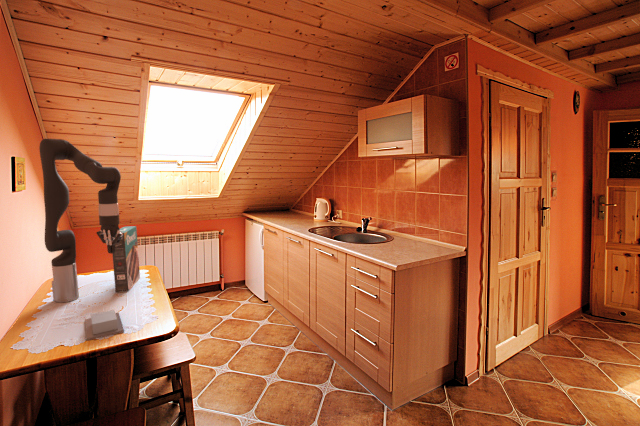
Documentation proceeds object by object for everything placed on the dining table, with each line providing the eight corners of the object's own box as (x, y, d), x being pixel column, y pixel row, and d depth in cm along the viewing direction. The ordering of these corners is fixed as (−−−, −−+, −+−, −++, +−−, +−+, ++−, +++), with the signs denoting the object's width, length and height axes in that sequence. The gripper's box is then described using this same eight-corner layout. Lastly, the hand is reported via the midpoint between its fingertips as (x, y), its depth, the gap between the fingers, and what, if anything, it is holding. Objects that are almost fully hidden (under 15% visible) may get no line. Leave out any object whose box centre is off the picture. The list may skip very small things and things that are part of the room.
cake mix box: (128, 291, 180) (124, 233, 176) (115, 292, 179) (110, 233, 175) (140, 278, 201) (136, 226, 197) (128, 278, 200) (124, 226, 196)
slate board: (85, 321, 145) (85, 319, 145) (118, 314, 152) (118, 312, 151) (86, 340, 128) (86, 338, 128) (123, 332, 135) (123, 330, 135)
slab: (91, 324, 140) (93, 334, 131) (90, 314, 140) (92, 324, 131) (114, 319, 145) (117, 329, 136) (114, 309, 144) (117, 319, 135)
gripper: (88, 214, 149) (91, 254, 152) (114, 215, 146) (117, 256, 149) (103, 211, 157) (106, 249, 159) (128, 213, 153) (130, 252, 156)
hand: (111, 253), depth 154 cm, fingers closed
